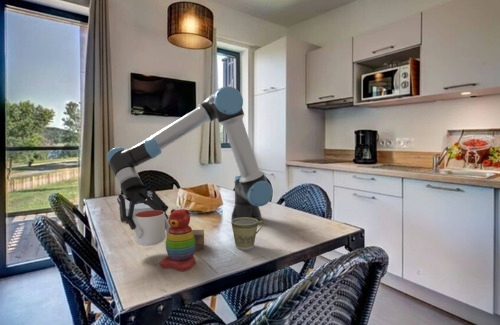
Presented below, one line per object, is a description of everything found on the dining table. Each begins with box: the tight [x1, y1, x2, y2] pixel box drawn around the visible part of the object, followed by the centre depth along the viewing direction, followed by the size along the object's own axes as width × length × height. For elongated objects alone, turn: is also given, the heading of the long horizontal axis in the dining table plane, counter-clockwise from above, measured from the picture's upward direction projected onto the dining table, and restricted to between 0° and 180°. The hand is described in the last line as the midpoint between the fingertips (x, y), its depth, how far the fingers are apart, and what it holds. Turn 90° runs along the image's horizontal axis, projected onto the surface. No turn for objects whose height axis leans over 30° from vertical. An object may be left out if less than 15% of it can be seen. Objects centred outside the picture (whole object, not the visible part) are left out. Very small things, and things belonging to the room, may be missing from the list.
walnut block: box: [192, 229, 205, 252], centre depth 109 cm, size 6×6×6 cm
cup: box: [134, 210, 166, 247], centre depth 102 cm, size 10×10×10 cm
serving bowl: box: [118, 201, 153, 219], centre depth 154 cm, size 21×21×7 cm
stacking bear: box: [159, 208, 196, 272], centre depth 95 cm, size 11×10×18 cm
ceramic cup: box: [231, 217, 265, 251], centre depth 110 cm, size 13×10×10 cm
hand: (155, 232), depth 100 cm, fingers closed on cup, 10 cm apart
